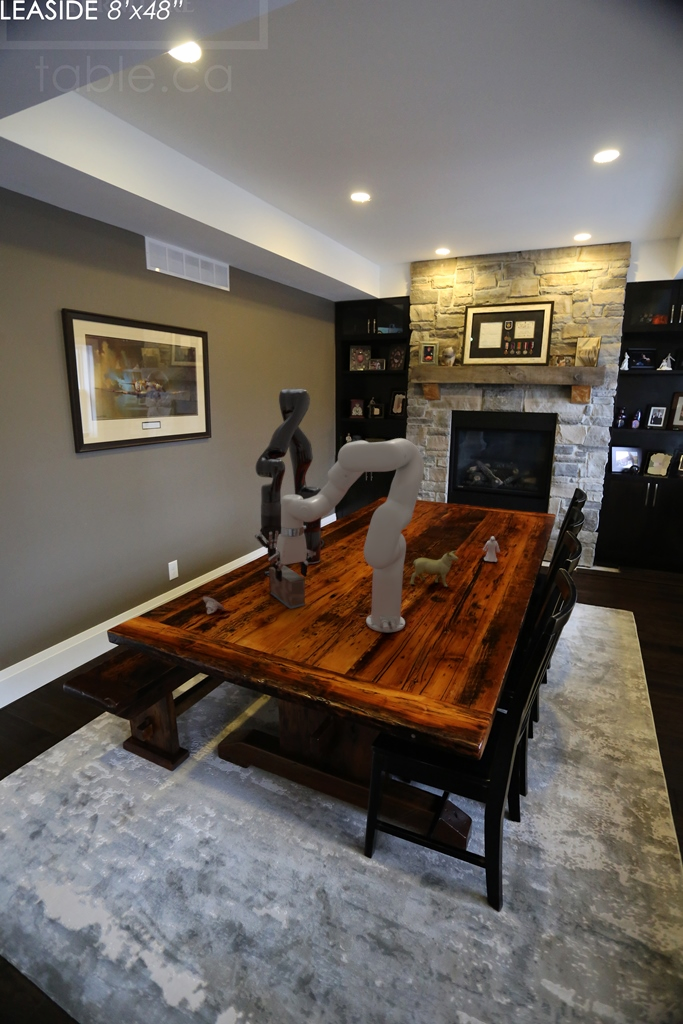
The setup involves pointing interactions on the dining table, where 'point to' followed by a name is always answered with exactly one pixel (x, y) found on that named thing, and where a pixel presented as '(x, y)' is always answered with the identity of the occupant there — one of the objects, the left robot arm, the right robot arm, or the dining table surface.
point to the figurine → (491, 550)
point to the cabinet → (288, 588)
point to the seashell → (212, 605)
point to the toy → (434, 567)
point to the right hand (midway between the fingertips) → (291, 577)
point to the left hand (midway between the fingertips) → (271, 557)
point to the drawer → (269, 577)
